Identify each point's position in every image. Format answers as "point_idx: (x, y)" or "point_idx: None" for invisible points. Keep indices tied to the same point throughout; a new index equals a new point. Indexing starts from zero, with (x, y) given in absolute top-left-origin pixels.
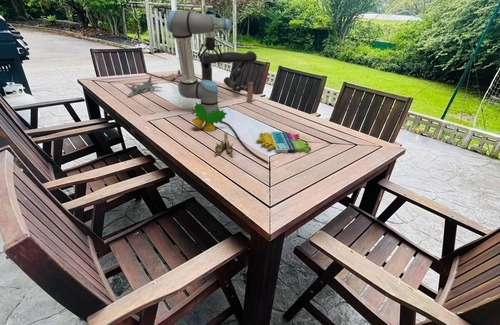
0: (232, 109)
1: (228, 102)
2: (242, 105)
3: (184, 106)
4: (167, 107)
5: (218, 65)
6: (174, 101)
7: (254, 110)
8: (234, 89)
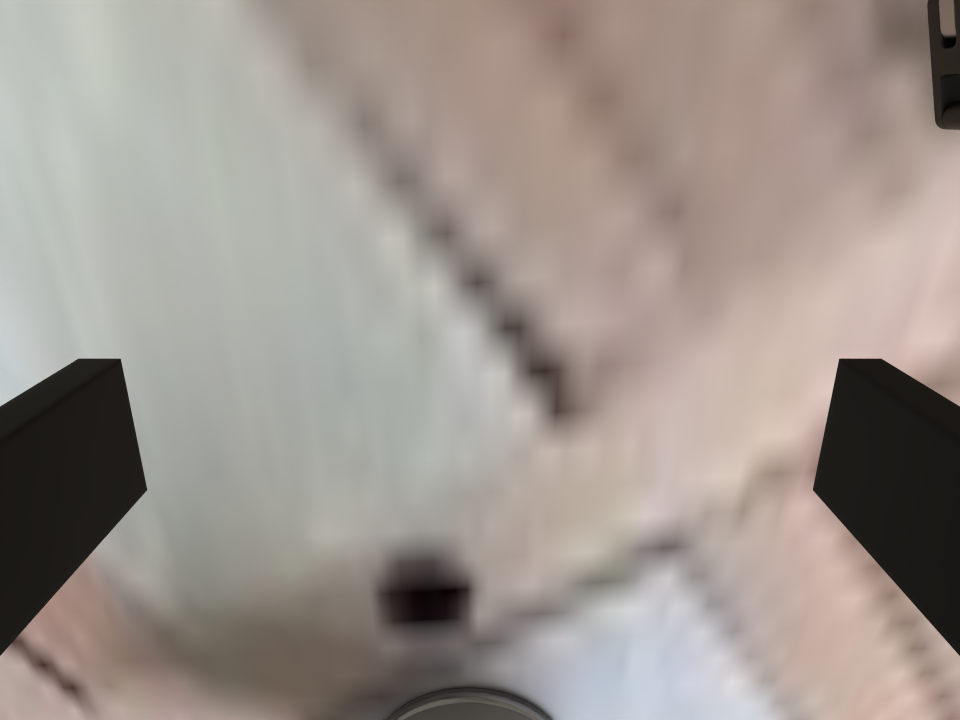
0: (713, 627)
1: (717, 392)
2: None
3: (189, 570)
4: None
5: (844, 510)
6: None
7: (948, 643)
8: (957, 122)
